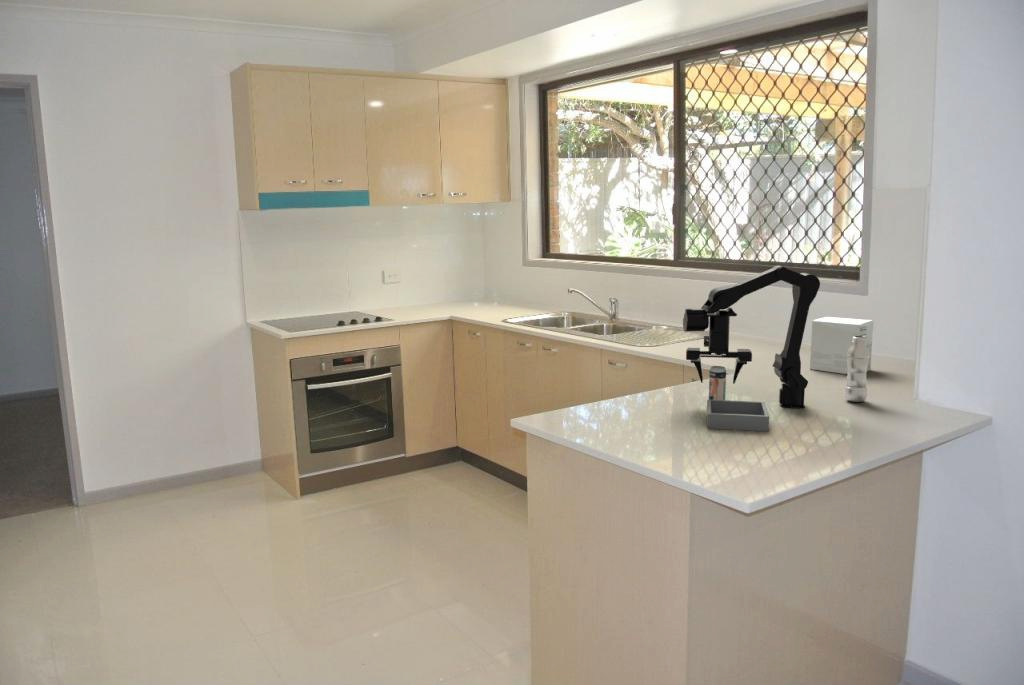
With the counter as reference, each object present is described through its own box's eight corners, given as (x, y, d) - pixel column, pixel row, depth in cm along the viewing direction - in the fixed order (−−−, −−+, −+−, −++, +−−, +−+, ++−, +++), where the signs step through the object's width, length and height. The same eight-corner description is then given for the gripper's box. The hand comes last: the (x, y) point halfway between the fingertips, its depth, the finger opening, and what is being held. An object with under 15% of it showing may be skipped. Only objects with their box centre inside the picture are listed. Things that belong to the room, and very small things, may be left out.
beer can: (706, 404, 244) (707, 365, 242) (721, 404, 244) (723, 365, 242) (711, 408, 239) (712, 369, 237) (727, 408, 240) (728, 368, 237)
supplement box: (871, 370, 288) (874, 319, 285) (857, 376, 279) (860, 324, 276) (823, 363, 300) (826, 315, 297) (808, 369, 291) (811, 319, 287)
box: (764, 415, 231) (764, 401, 230) (768, 431, 216) (769, 416, 215) (706, 412, 235) (707, 399, 234) (707, 428, 219) (707, 413, 219)
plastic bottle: (867, 399, 247) (871, 335, 243) (866, 405, 241) (870, 339, 237) (844, 398, 249) (848, 334, 246) (843, 403, 243) (847, 337, 240)
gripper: (750, 327, 243) (748, 378, 246) (687, 326, 248) (686, 376, 250) (752, 333, 233) (751, 386, 235) (686, 332, 237) (685, 384, 240)
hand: (717, 382), depth 240 cm, fingers open, 9 cm apart
